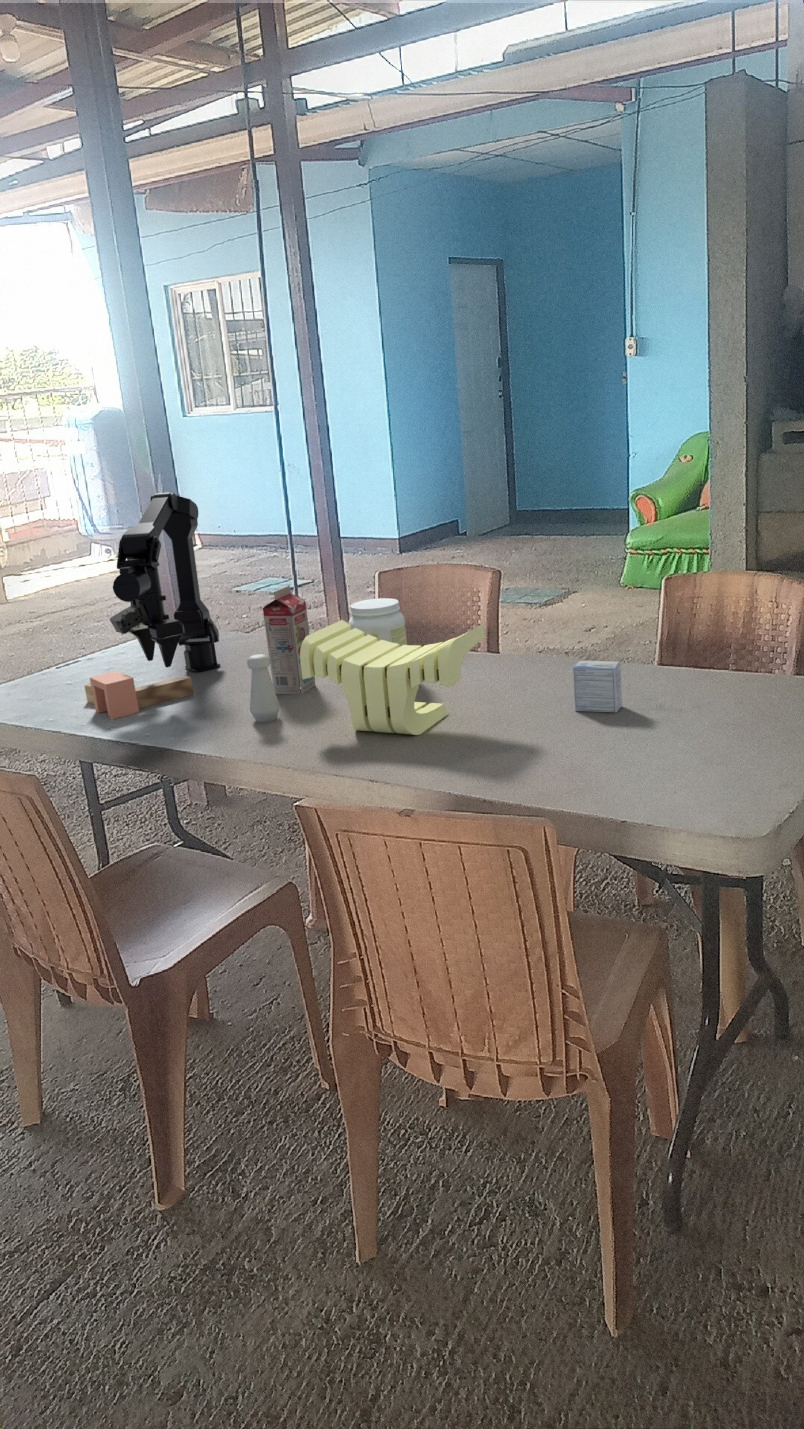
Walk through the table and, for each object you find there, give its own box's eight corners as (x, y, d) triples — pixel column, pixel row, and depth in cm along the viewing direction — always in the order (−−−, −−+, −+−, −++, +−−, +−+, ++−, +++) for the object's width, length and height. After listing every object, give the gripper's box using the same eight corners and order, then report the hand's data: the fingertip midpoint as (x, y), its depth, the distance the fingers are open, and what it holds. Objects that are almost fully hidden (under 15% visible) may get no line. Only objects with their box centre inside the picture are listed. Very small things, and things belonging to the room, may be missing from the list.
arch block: (122, 704, 232) (116, 670, 230) (139, 712, 225) (133, 677, 223) (95, 711, 229) (89, 677, 227) (111, 719, 222) (105, 684, 220)
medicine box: (622, 706, 199) (621, 661, 197) (616, 713, 196) (615, 667, 193) (581, 704, 203) (579, 660, 200) (574, 711, 199) (572, 666, 196)
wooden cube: (101, 697, 240) (98, 680, 239) (113, 699, 238) (110, 681, 236) (87, 702, 237) (84, 685, 236) (99, 704, 235) (96, 686, 233)
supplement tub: (398, 669, 239) (391, 594, 234) (418, 681, 228) (411, 603, 223) (346, 678, 236) (338, 603, 231) (364, 691, 225) (356, 612, 220)
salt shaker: (285, 715, 214) (277, 651, 210) (273, 724, 208) (264, 659, 205) (259, 714, 216) (250, 651, 212) (246, 723, 210) (237, 659, 207)
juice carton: (273, 693, 229) (260, 592, 223) (288, 684, 235) (275, 585, 229) (301, 694, 227) (288, 591, 220) (315, 685, 233) (303, 585, 226)
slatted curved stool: (309, 732, 202) (297, 639, 196) (351, 706, 215) (341, 619, 210) (454, 744, 188) (446, 645, 182) (490, 716, 201) (483, 623, 196)
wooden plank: (187, 692, 238) (185, 675, 237) (193, 695, 235) (191, 677, 234) (110, 712, 228) (107, 694, 227) (115, 715, 226) (112, 697, 224)
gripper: (94, 594, 229) (106, 665, 234) (128, 604, 214) (141, 679, 219) (143, 585, 235) (154, 654, 240) (179, 593, 220) (191, 667, 225)
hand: (159, 663), depth 231 cm, fingers open, 9 cm apart
